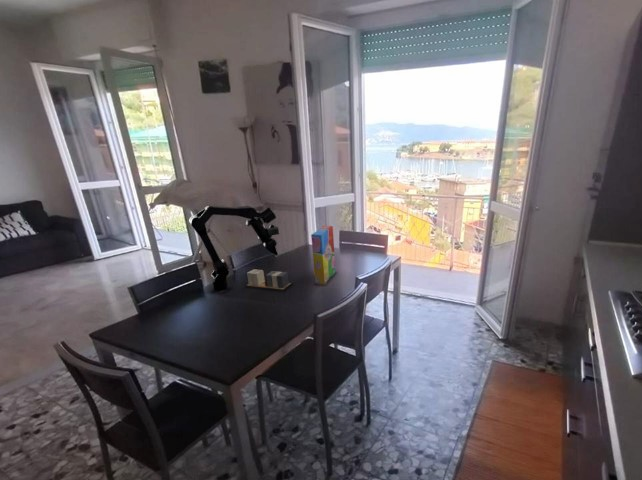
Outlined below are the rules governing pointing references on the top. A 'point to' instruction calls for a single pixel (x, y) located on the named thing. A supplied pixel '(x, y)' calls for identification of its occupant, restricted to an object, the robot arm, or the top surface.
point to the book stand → (266, 285)
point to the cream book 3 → (275, 279)
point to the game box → (323, 254)
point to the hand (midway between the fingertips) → (274, 252)
